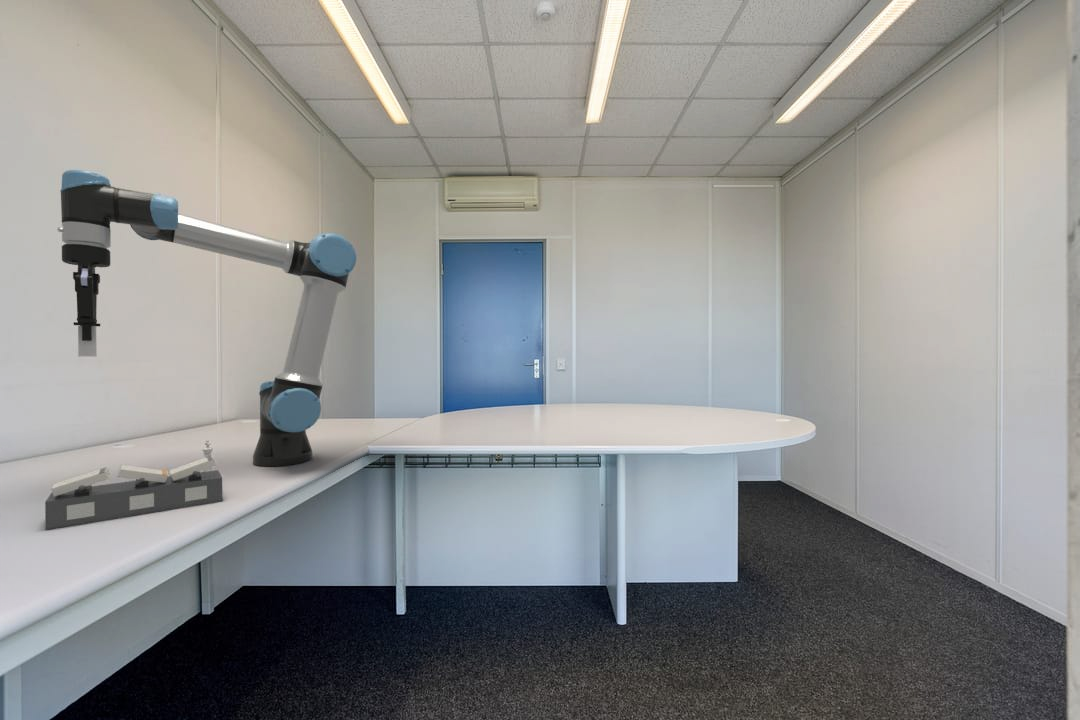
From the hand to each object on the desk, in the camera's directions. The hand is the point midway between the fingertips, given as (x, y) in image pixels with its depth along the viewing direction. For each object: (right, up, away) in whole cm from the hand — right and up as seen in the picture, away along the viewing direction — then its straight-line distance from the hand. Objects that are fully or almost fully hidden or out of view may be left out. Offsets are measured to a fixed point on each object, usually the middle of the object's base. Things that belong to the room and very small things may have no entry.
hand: (87, 356), depth 101 cm
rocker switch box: (+18, -31, -7) cm, 36 cm away
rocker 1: (+11, -24, -12) cm, 30 cm away
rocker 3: (+24, -24, -1) cm, 34 cm away
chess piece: (+17, -31, +13) cm, 37 cm away
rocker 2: (+18, -24, -7) cm, 31 cm away
